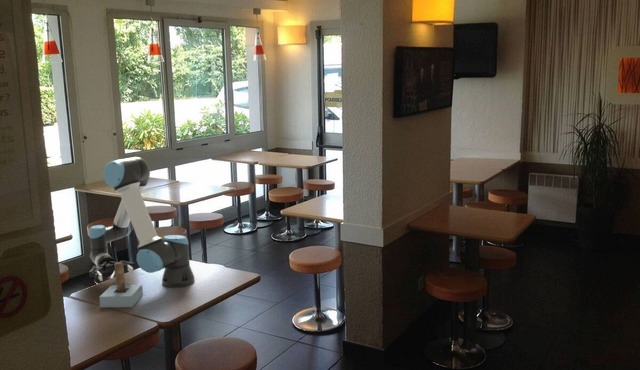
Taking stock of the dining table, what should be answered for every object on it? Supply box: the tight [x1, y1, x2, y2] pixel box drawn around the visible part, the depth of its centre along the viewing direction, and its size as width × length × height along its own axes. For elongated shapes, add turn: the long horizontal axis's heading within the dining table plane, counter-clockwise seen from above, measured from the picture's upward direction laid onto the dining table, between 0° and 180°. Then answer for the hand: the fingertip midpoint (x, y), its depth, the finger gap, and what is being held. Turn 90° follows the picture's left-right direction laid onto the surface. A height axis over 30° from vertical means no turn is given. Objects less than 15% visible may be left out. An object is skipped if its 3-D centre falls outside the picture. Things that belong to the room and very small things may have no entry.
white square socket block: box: [98, 284, 144, 308], centre depth 255 cm, size 14×14×5 cm
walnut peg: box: [114, 261, 126, 293], centre depth 254 cm, size 4×4×17 cm
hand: (117, 274), depth 256 cm, fingers open, 13 cm apart
